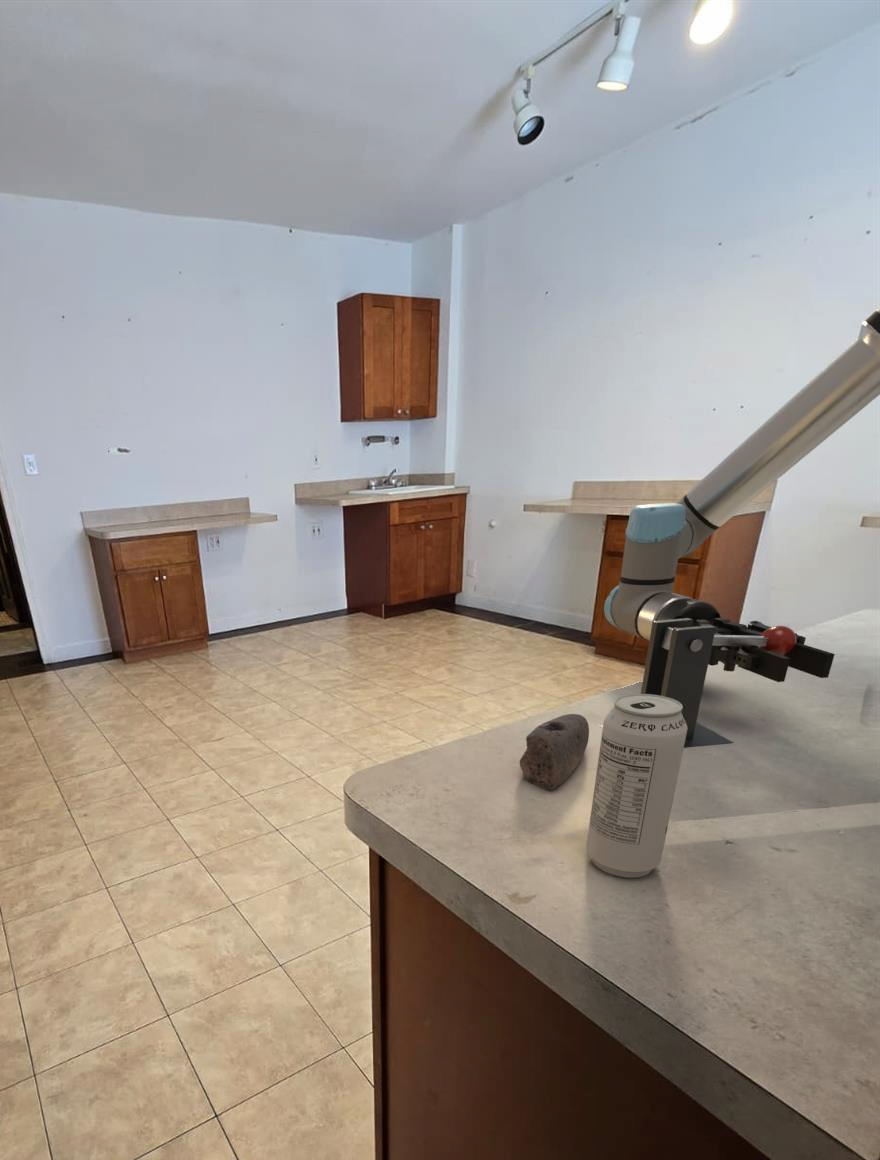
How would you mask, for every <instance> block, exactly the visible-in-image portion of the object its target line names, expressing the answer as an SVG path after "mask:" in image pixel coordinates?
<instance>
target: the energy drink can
mask: <svg viewBox="0 0 880 1160" xmlns="http://www.w3.org/2000/svg"><path fill="white" fill-rule="evenodd" d="M682 708H683V706H682V704H681V703H680V702H678V701H676V700H674V699H671V698H668V697H664V696H659V695H651V694H641V693H631V694H624V695H621V696H619V697H617V698H616V699H615V701H614V706H613V707H612V709H610V711H609V712H608V713H607V715H606V716H605V717H604V719H603V723H602V724H603V728H602V731H601V738H600V746H599V752H598V753H599V754H598V758H597V759H598V760H597V766H596V773H595V774H596V775H595V782H594V787H593V788H594V789H593V794H592V802H591V809H590V815H589V823H588V831H587V837H586V845H585V850H586V852H587V854H588V856H589V857H590V859H591V862H592V863H593V865H594V866H595V867H597V868H598V869H599V870H601V871H603V872H604V873H607V874H609V875H612V876H616V877H620V878H629V879H630V878H631V879H632V878H633V879H634V878H639V877H640V878H641V877H644V876H647V875H648V874H651V872H652V870H655V869H656V868H657V867H658V866H659V865H660V864H661V862H662V857H663V853H664V848H665V843H666V839H667V834H668V833H667V832H668V827H669V823H670V817H671V813H672V808H673V804H674V797H675V793H676V788H677V783H678V778H679V773H680V768H681V762H682V758H683V753H684V749H685V748H684V744H685V739H686V734H687V729H688V728H687V725H686V722H685V720H684V718H683V715H682V713H681V711H682Z"/></svg>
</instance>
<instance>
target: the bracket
mask: <svg viewBox="0 0 880 1160" xmlns="http://www.w3.org/2000/svg"><path fill="white" fill-rule="evenodd" d="M692 625H693V620H692V619H689V618H684V619H672V620H660V621H653V623H652V629H651V635H650V641H648V647H647V654H646V658H645V659H646V660H645V665H644V672H643V678H642V683H641V690H640V694H651V695H659V696H664V697H668V698H671V699H674V700H676V701H678V702H680V703H681V704H682V706H683V708H682V711H681V713H682V715H683V718H684V720H685V722H686V725H687V728H688V729H687V734H686V739H685V744H684V748H683V749H686V748H698V747H707V746H708V747H709V746H719V745H729V744H730V745H731V744H735V742H733V740H730V739H728V738H726V737H725V736H723V735H721V734H720V733H717V732H716V731H714V730H712V729H711V728H708V727H707V726H705V725H703V724H702V723H699V722H698V721H697V720H698V715H699V710H700V706H701V701H702V696H703V691H704V688H705V687H704V686H705V682H706V677H707V672H708V667H709V665H708V663H709V658H710V653H711V649H712V644H713V639H714V634H715V629H716V627H714V626H711V625H708V626H697V627H692ZM666 627H685V628H673V630H672V636H671V641H670V647H669V650H667V649H665V648H662V647H661V646H662V642H663V638H664V635H665V631H666ZM598 726H599V727H600V728H601V729H603V723H602V724H598Z"/></svg>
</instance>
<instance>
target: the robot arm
mask: <svg viewBox="0 0 880 1160" xmlns="http://www.w3.org/2000/svg"><path fill="white" fill-rule="evenodd" d="M879 396H880V306H879V307H877V309H876V310H875V311H874V312H873V313H872V314H870V315H869V317H867V318H866V319H865V320H864V321H863V322H862V323H861V325H860V331H859V334H858V337H857V338H856V339H855V340H854V341H853V342H852V343H850V344H849V346H847V347H846V348H845V349H844V350H843V351H841V352H840V354H838V355H837V356H836V357H835V358H834V359H833V360H832V361H831V362H830V363H829V364H827V365H826V366H825V367H824V368H823V369H822V370H821V371H820V372H819V373H818V374H816V375H815V376H814V377H813V378H812V379H811V380H810V381H809V382H808V383H807V384H805V385H804V386H803V387H802V388H801V389H800V390H798V392H796V393H795V394H794V395H793V396H792V397H791V398H790V399H789V400H787V402H786V403H784V404H783V405H782V406H781V407H780V408H779V409H778V410H776V412H775V413H774V414H773V415H771V416H770V417H769V418H768V419H767V420H766V421H765V422H764V423H763V424H761V426H759V427H758V428H757V429H756V430H754V432H753V433H752V434H751V435H749V437H747V438H746V439H745V440H744V441H743V442H742V443H740V445H738V446H737V447H736V448H735V449H734V450H733V451H731V453H730V454H729V455H727V456H726V457H725V458H724V459H723V460H722V461H721V462H720V463H719V464H717V465H716V466H715V467H714V468H713V469H712V470H711V471H710V472H709V473H708V474H706V476H704V477H703V478H702V479H701V480H700V481H699V482H698V483H696V484H695V485H694V487H692V488H691V489H689V491H688V492H687V493H686V494H685V495H684V496H682V497H681V498H680V499H679V500H678V501H677V502H676V503H675V502H674V503H673V502H671V503H669V502H667V503H648V504H639V505H636V506H634V507H633V508H631V511H630V513H629V518H628V522H627V527H626V528H625V532H624V533H625V542H624V549H623V556H622V565H621V572H620V579H619V584H618V585H617V586H615V587H614V588H613V589H611V591H610V593H609V594H608V596H607V598H606V599H605V601H604V605H603V612H604V617H605V618H606V620H607V622H608V623H609V624H611V625H612V626H613V627H615V628H617V629H618V630H619V631H621V632H623V633H626V634H628V635H632V636H634V637H637V638H640V639H642V640H644V641H647V642H649V641H650V635H651V629H652V623H653V621H660V620H672V619H684V618H689V619H692V620H693V625H692V627H697V626H708V625H711V626H714V627H716V629H715V634H714V635H742V636H761V634H762V633H763V632H764V631H765V630H767V629H768V628H771V627H772V626H770V625H766V624H764V623H763V622H761V621H758V620H752V621H750V622H749V623H748V624H744V623H739V622H734V621H731V620H730V619H728V618H726V617H725V618H724V617H722V616H721V614H720V612H719V610H718V609H717V608H716V607H715V606H714V605H713V604H711V603H709V602H705V601H703V600H699V599H695V598H692V597H691V596H685V595H682V594H678V593H675V592H673V589H674V584H675V579H676V573H677V567H678V563H679V562H678V561H679V559H682V558H684V557H687V556H689V555H691V554H692V553H693V552H694V551H696V550H697V549H698V548H700V546H701V545H702V544H703V542H704V541H705V540H707V539H708V538H709V537H710V536H712V535H713V534H714V533H715V532H716V531H717V530H718V529H719V528H721V527H722V526H723V525H724V524H726V523H727V522H728V521H729V520H730V519H731V518H733V517H734V516H735V515H736V514H738V513H739V512H740V511H742V509H744V508H745V507H746V506H748V505H749V503H751V502H752V501H753V500H755V499H756V498H757V497H758V496H759V495H760V494H762V493H763V492H764V491H765V490H767V489H768V488H769V487H770V486H771V485H772V484H774V483H775V482H776V481H777V480H778V479H780V478H781V477H782V476H783V475H785V474H786V473H787V472H788V471H789V470H791V469H792V468H793V467H794V466H795V465H797V464H798V463H799V462H800V461H801V460H803V459H804V458H805V457H806V456H808V455H809V454H810V453H811V452H812V451H814V450H815V449H816V448H817V447H818V446H820V445H821V444H822V443H824V442H825V441H826V440H827V439H828V438H829V437H831V436H832V435H833V434H834V433H835V432H837V431H838V430H839V429H840V428H841V427H843V426H844V425H845V424H847V422H849V421H850V420H851V419H852V418H853V417H855V416H856V415H857V414H859V413H860V412H861V411H862V410H863V409H865V407H867V406H868V405H869V404H871V403H872V402H873V401H874V400H875V399H877V398H878V397H879ZM794 633H795V635H796V639H797V640H796V644H795V647H794V648H793V649H792V650H791V651H790V652H789V653H787V654H785V655H780V654H777V653H774V652H771V651H768V650H765V649H762V648H759V646H727V645H712V649H711V653H710V658H709V663H708V666H712V667H713V666H719V665H718V664H719V662H720V663H722V664H723V668H722V669H723V671H724V672H734V671H735V670H736V665H737V667H739V668H741V669H743V670H745V671H749V672H751V673H754V674H757V675H758V676H761V677H762V678H763V677H764V678H766V679H769V680H771V681H774V682H776V683H784V682H785V680H786V677H787V673H788V668H791V669H794V670H797V671H800V672H803V673H806V674H808V675H811V676H815V677H817V678H820V679H828V678H829V676H830V672H831V669H832V666H833V661H834V658H835V653H833V652H829V651H826V650H823V649H819V648H816V647H814V646H810V645H807V644H805V642H806V640H807V638H806V637H805V636H803V635H799V634H798V633H797V632H794Z"/></svg>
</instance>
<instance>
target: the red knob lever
mask: <svg viewBox="0 0 880 1160" xmlns="http://www.w3.org/2000/svg"><path fill="white" fill-rule="evenodd" d="M770 627H771V628H768V629H767V630H765V631H764V632H763V633H762V634H761V636H742V635H714V639H713V644H712V645H727V646H759V648H762V649H765V650H768V651H771V652H774V653H777V654H780V655H785V654H787V653H789V652H790V651H791V650H792V649H793V648H794V647H795V644H796V640H797V639H796V635H795V633H796V632H795V631H794V630H793V629H792V628H790V627H788V626H786V625H773V626H770ZM673 628H685V627H666V631H665V635H664V638H663V642H662V646H661V647H662V648H665V649H667V650H669V647H670V641H671V636H672V630H673Z"/></svg>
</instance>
